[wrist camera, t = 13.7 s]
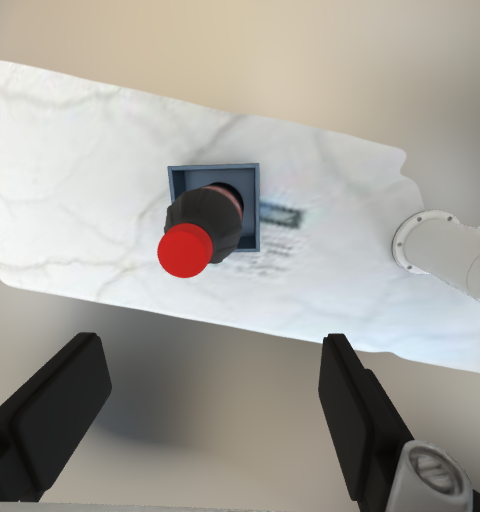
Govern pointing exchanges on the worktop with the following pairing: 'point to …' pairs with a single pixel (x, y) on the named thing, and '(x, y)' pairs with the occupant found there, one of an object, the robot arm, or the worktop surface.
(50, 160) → the worktop surface
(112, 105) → the worktop surface
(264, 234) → the worktop surface
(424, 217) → the robot arm
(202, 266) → the cola bottle
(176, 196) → the case
